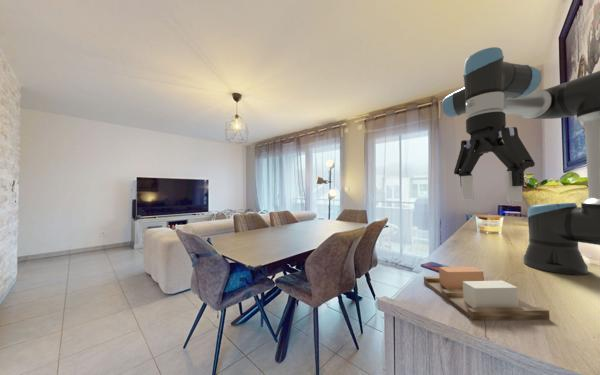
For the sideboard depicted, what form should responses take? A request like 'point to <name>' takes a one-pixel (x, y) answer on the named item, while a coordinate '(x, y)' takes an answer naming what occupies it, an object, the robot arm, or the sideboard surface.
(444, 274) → the terracotta stub
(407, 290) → the sideboard surface
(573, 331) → the sideboard surface
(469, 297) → the cream stub
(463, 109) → the robot arm
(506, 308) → the comb board
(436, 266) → the smartphone
